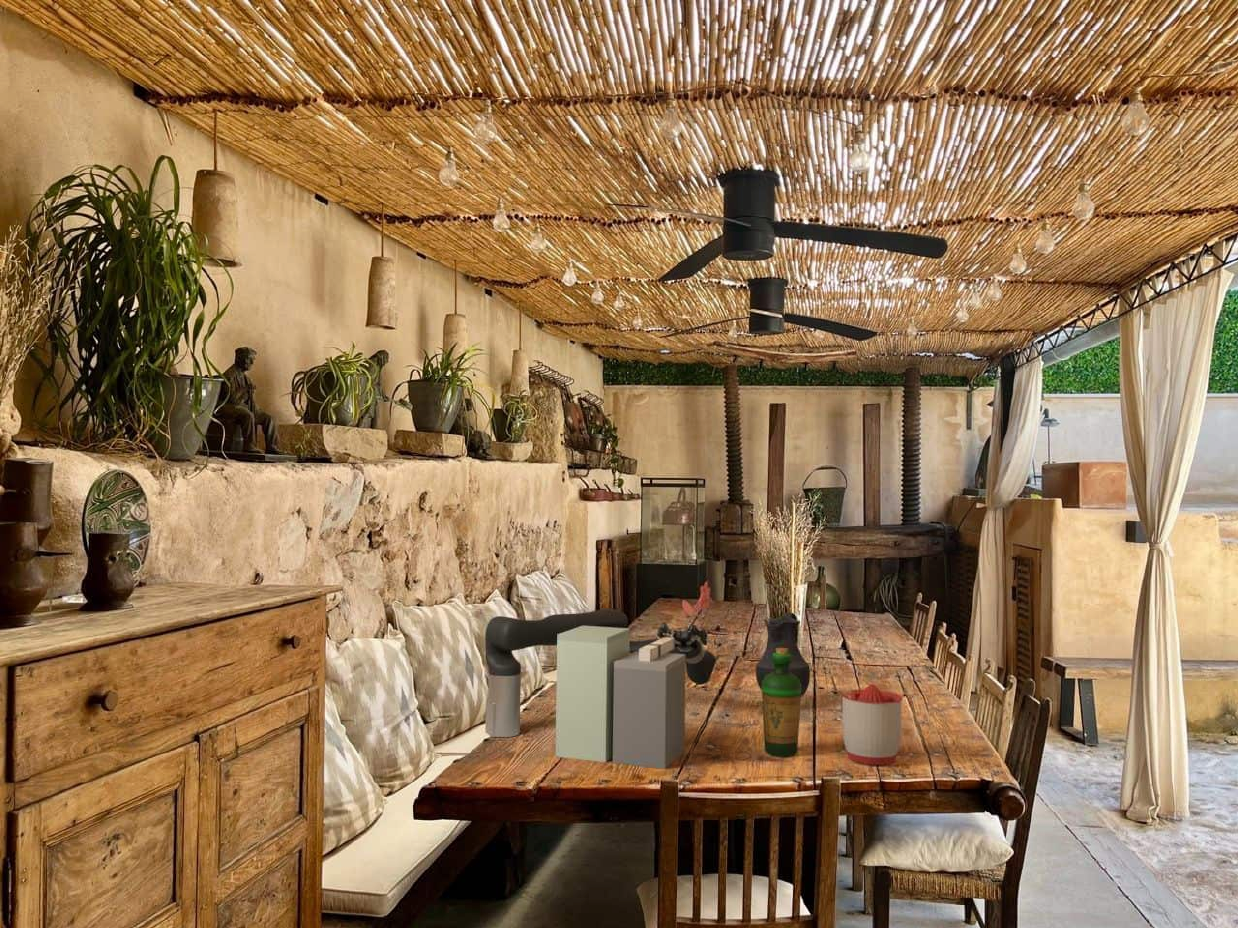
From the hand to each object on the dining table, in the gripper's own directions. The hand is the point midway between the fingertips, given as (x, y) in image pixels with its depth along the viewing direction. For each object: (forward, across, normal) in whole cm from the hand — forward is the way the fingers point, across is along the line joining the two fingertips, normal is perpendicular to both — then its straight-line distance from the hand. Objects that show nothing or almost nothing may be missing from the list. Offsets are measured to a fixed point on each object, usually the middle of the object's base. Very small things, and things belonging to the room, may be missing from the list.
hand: (677, 625), depth 280 cm
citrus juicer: (-12, +54, +29) cm, 63 cm away
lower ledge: (+5, 0, +40) cm, 40 cm away
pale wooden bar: (+13, 0, +14) cm, 19 cm away
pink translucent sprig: (-98, -17, -21) cm, 102 cm away
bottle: (-9, +32, +31) cm, 45 cm away
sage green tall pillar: (+5, -16, +40) cm, 43 cm away
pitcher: (-59, +22, +2) cm, 63 cm away
